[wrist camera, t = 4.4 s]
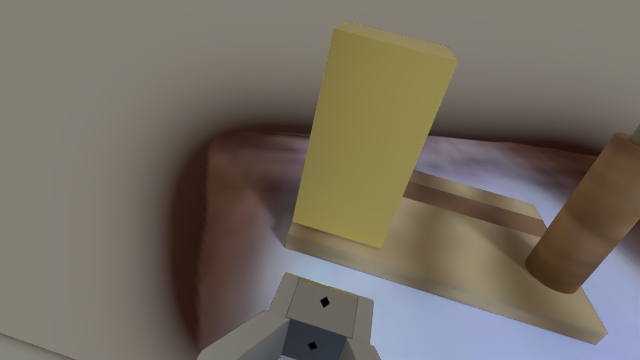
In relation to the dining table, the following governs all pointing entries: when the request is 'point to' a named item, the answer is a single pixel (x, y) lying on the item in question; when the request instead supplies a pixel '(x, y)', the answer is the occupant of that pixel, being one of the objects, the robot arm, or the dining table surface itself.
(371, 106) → the block
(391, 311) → the dining table surface
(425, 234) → the plywood panel
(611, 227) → the awl
